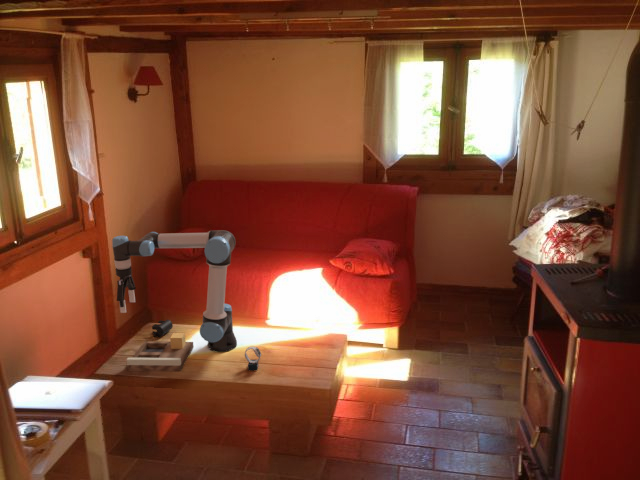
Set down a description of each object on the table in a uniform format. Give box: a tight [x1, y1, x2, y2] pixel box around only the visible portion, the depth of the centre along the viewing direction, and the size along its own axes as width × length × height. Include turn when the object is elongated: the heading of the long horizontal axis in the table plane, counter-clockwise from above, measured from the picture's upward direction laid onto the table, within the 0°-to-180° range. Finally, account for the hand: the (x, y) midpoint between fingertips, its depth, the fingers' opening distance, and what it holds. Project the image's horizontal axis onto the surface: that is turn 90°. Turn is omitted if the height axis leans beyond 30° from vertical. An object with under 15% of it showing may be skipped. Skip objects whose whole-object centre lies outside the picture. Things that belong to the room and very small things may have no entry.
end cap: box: [151, 319, 173, 338], centre depth 327 cm, size 10×7×7 cm
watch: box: [244, 346, 262, 372], centre depth 287 cm, size 6×8×11 cm
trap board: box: [126, 340, 194, 372], centre depth 298 cm, size 26×26×6 cm
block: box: [169, 332, 187, 349], centre depth 305 cm, size 6×6×6 cm
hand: (128, 307), depth 296 cm, fingers open, 13 cm apart
